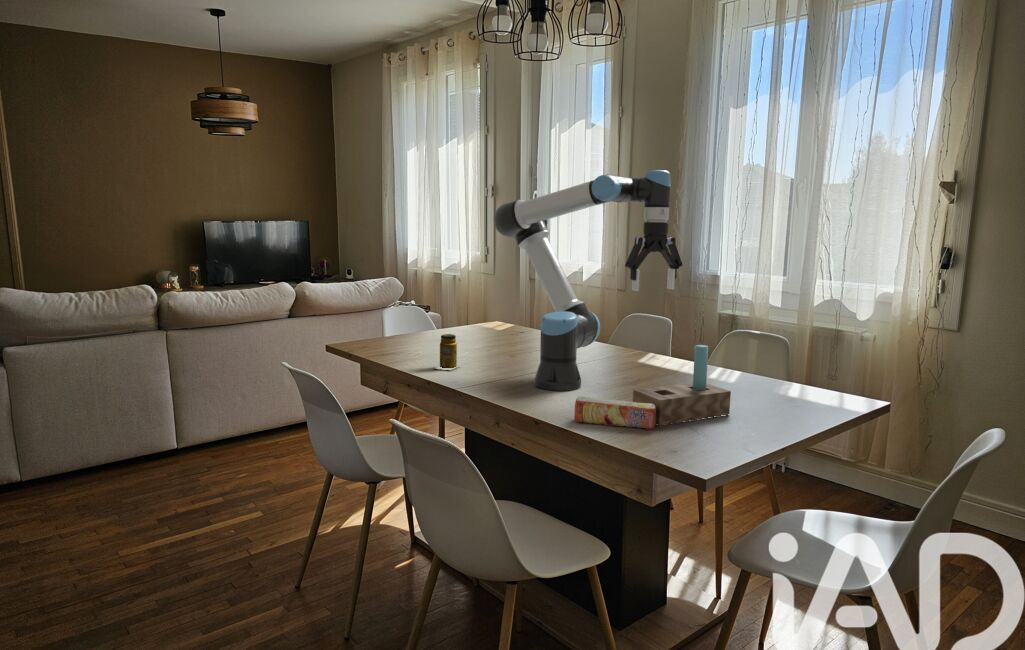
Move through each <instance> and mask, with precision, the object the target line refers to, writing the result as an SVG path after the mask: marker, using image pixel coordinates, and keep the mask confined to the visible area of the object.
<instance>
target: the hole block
mask: <svg viewBox="0 0 1025 650" xmlns="http://www.w3.org/2000/svg"><path fill="white" fill-rule="evenodd" d="M632 392H633V394H632V402H636V403H650V404H654V405H655V407H656V424H658V425H663V426H666V425H665V424H670V425H672V424H671V423H677V422H683V421H689V420H697V419H702V418H708V417H714V416H721V415H728V414H729V415H730V409H731V407H730V406H731V392H732V391H731V390H727V389H725V388H721V387H719V386H715V385H712V384H709V383H707V382H706V390H703V391H696V390H693V382H688V383H678V384H669V385H662V386H655V387H654V386H652V387H645V388H636V389H635V388H634V389H633V391H632ZM697 421H698V420H697ZM656 424H655V425H656ZM677 424H678V423H677ZM658 425H657V426H658Z"/></svg>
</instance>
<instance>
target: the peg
mask: <svg viewBox="0 0 1025 650" xmlns="http://www.w3.org/2000/svg"><path fill="white" fill-rule="evenodd" d="M693 357H694V358H693V373H692V374H693V375H692V376H693V377H692V383H693V390H696V391H703V390H706V383H707V374H708V361H709V360H708V358H709V345H705V344H697V345H694V356H693Z"/></svg>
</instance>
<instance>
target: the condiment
mask: <svg viewBox="0 0 1025 650" xmlns="http://www.w3.org/2000/svg"><path fill="white" fill-rule="evenodd" d="M456 337H457V336H456V335H455V334H452V333H451V334H450V333H449V334H448V333H446V334H441V335H440V343H439V366H440V367H442V368H454V367H456V366H457V362H458V361H457V358H458V357H457V356H458V352H457V351H458V348H457V347H458V345H457V342H456V340H457V339H456Z"/></svg>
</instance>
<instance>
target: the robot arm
mask: <svg viewBox="0 0 1025 650" xmlns="http://www.w3.org/2000/svg"><path fill="white" fill-rule="evenodd" d="M671 187H672V186H671V172H669V170H663V169H662V170H661V169H652V170H647V171H646V172H645V175H644V177H627V176H617V175H612V174H610V173H609V174H608V173H607V174H601V175H599V176H597V177H596V178H595V179H593V180H590V181H586V182H583V183H580V184H577V185H574V186H570V187H568V188H564V189H561V190H556V191H553V192H551V193H547V194H544V195H541V196H538V197H534V198H531V199H528V200H523V199H518V200H517V199H516V200H514V201H509V202H506V203H503V204H501V205H499V207H497V209H496V211H495V212H494V215H493V224H494V227H495V229H496V231H497V232H498V233H499V234H500V235H502V236H503V237H506V238H514V240H515V242H516V244H517V245H518V248H520V249H523V250H525V252H526V254H527V256H528V258H529V260H530V262H531V264H532V267H533V268H534V270H535V273H536V275H537V277H538V279H539V281H540V283H541V285H542V287H543V289H544V291H545V293H546V295H547V297H548V299H549V301H550V303H551V305H552V308H553V309H554V311H552V312H549V313H546V314H544V315H543V316H542V317H541V319H540V321H541V322H540V326H539V327H540V328H539V329H540V346H539V347H540V350H539V351H540V357H539V358H540V359H539V360H540V362H539V364H538V367H537V370H536V373H535V376H534V379H533V380H534V382H533V383H534V386H535V387H537V388H539V389H542V390H548V391H560V392H561V391H573V390H577V389H579V388H581V387H582V378H581V375H580V371H579V368H578V364H577V349H579V348H584V347H587V346H589V345H591V344H593V343H594V342H596V340H597V339H598V338H599V335H600V333H601V322H600V319H599V318H598V316H597V315H596V314H595V313H594V312H592V311H590V310H589V309H588V307H587V305H586V303H585V302H584V301H582V300H579V299H578V297H577V296H576V294H575V292H574V289H573V287H572V286H571V284H570V282H569V279H568V277H567V275H566V273H565V271H564V269H563V266H562V265H561V263H560V261H559V259H558V257H557V255H556V253H555V251H554V249H553V246H552V245H551V243H550V241H549V239H548V237H549V235H550V230H549V229H548V223H549V220H550V219H554V218H557V217H560V216H564V215H567V214H570V213H574V212H578V211H582V210H584V209H588V208H592V207H595V206H599V205H603V204H606V203H610V202H612V203H619V204H620V203H639V202H640V203H644V211H643V220H644V221H645V222H644V223H643V232H642V233H643V237H641V236H636V237H635V239H634V244H633V246H632V249H631V251H630V253H629V254H628V258H627V260H626V262H625V266H624V267H625V268H628V269H629V270H630V275H629V277H630V278H629V279H630V281H631V291H632V292H633V291H635V292H640V291H639V290H640V273H641V272H640V271H641V270H640V269H638V268H640V266H641V265H642V263H643V262H644V260H646V258H647V256H648V255H649V254H650V253H656V252H657V253H660V254H661V255H662V257H663V259H664V260H665V262H666V264H667V265H668V266H669V268H667V275H666V278H667V279H666V281H667V282H666V290H671V291H672V290H673V291H674V290H675V281H676V279H677V272H678V270H679V269H680V268H681V267H683V262H682V259H681V256H680V253H679V250H678V247H677V245H676V244H677V243H676V238H675V237H671V236H670V237H669V236H668V234H669V222H667V221H669V219H670V218H669V217H670V197H671V196H670V195H671Z"/></svg>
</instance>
